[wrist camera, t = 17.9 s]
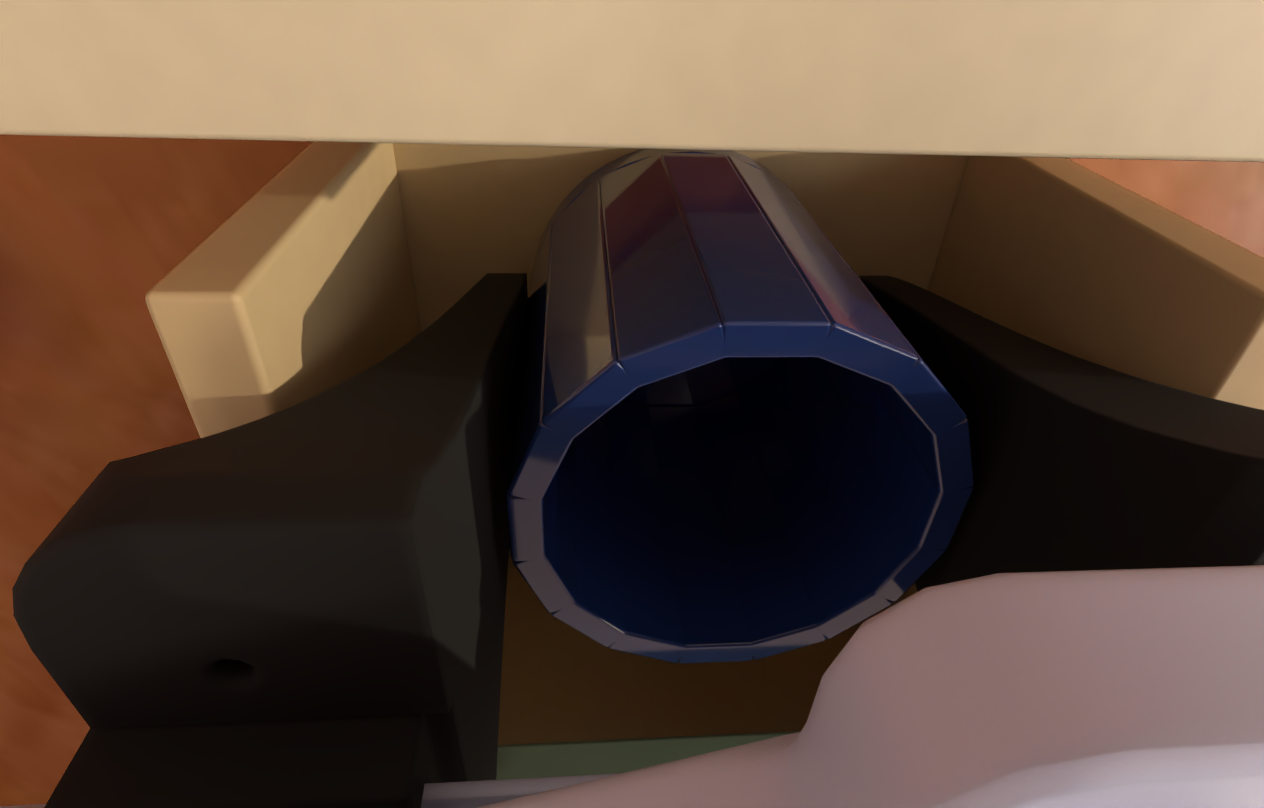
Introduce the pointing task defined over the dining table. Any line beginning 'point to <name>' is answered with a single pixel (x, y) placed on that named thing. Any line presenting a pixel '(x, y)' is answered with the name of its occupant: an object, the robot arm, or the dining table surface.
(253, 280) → the drawer
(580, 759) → the cabinet
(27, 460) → the dining table surface
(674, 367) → the cup
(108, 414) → the dining table surface
